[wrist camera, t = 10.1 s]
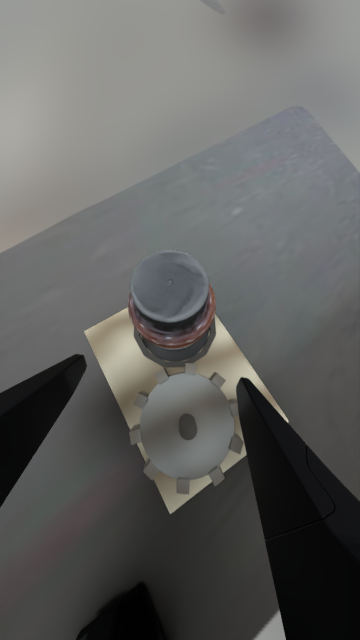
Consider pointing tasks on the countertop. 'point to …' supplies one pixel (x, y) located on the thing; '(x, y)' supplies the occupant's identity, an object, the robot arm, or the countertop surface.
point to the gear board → (143, 377)
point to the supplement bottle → (171, 300)
